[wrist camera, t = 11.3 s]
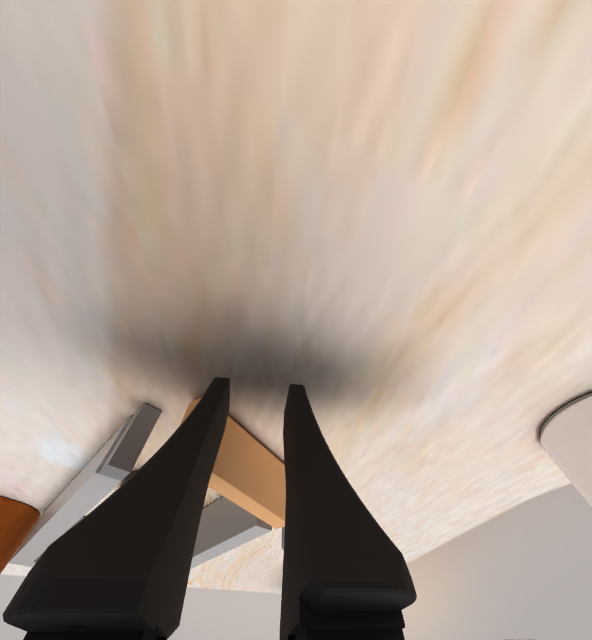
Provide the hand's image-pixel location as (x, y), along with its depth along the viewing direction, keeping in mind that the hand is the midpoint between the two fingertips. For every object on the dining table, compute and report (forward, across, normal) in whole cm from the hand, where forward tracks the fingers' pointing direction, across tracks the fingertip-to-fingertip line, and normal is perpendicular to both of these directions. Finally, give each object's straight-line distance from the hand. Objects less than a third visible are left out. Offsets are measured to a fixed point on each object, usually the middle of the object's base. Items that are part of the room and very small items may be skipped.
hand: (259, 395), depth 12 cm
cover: (+1, 0, +6) cm, 6 cm away
